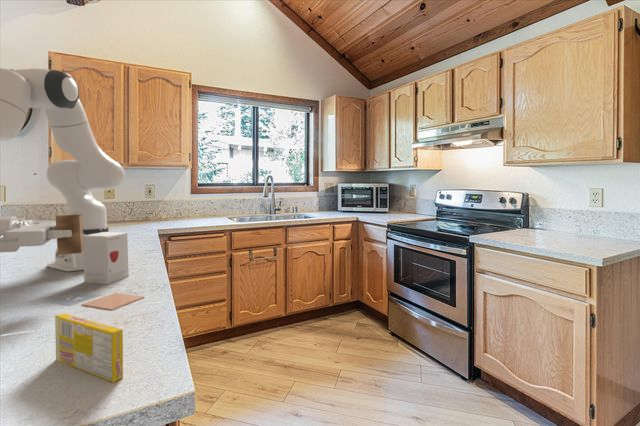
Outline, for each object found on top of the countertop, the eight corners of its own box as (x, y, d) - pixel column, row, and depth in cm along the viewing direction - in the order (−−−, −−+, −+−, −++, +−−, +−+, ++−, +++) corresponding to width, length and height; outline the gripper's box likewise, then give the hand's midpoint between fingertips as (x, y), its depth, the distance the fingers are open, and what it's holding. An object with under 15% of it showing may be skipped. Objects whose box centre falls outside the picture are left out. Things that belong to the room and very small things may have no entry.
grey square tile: (44, 302, 92) (43, 301, 92) (77, 292, 101) (77, 291, 101) (69, 307, 89) (68, 306, 89) (101, 296, 98) (101, 295, 98)
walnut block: (57, 254, 91) (55, 215, 90) (61, 250, 95) (59, 213, 94) (81, 253, 93) (79, 214, 92) (84, 249, 97) (82, 213, 96)
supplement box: (108, 285, 108) (106, 236, 107) (83, 283, 110) (81, 235, 109) (130, 277, 117) (128, 232, 116) (106, 275, 119) (104, 231, 118)
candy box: (125, 377, 58) (123, 328, 57) (113, 384, 56) (110, 333, 56) (67, 355, 65) (65, 311, 65) (54, 360, 63) (52, 315, 63)
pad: (82, 306, 90) (81, 304, 90) (116, 294, 99) (116, 292, 99) (112, 311, 87) (111, 309, 87) (144, 298, 96) (144, 296, 96)
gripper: (-11, 227, 78) (65, 224, 84) (18, 217, 96) (79, 215, 103) (-9, 255, 79) (67, 250, 85) (20, 240, 97) (81, 237, 103)
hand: (74, 231), depth 94 cm, fingers closed on walnut block, 5 cm apart
